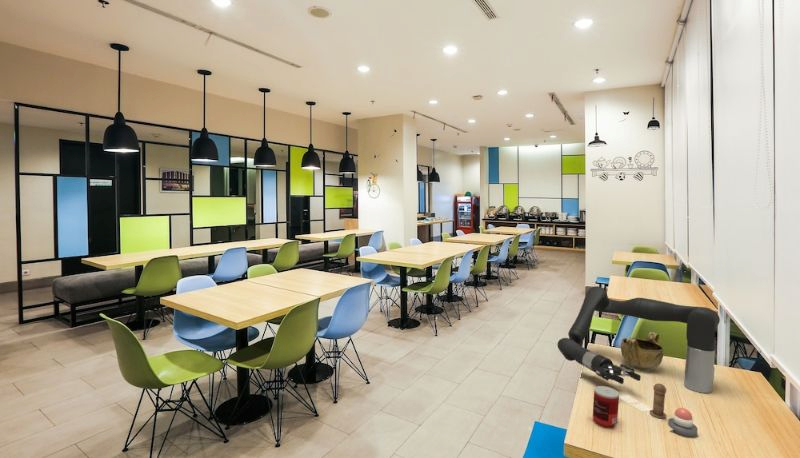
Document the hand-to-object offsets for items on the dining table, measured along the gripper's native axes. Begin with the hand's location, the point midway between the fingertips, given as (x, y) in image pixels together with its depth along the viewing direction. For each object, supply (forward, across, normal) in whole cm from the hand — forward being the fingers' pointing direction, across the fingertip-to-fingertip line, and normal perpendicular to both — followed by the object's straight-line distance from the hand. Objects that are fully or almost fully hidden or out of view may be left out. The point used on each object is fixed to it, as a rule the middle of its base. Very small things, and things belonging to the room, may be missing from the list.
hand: (631, 379), depth 152 cm
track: (+5, 0, -9) cm, 10 cm away
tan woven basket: (-24, -34, -9) cm, 42 cm away
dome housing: (+19, -1, -9) cm, 21 cm away
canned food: (+7, +20, -9) cm, 23 cm away
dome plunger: (+19, -1, -7) cm, 20 cm away
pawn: (+11, 0, -8) cm, 14 cm away
